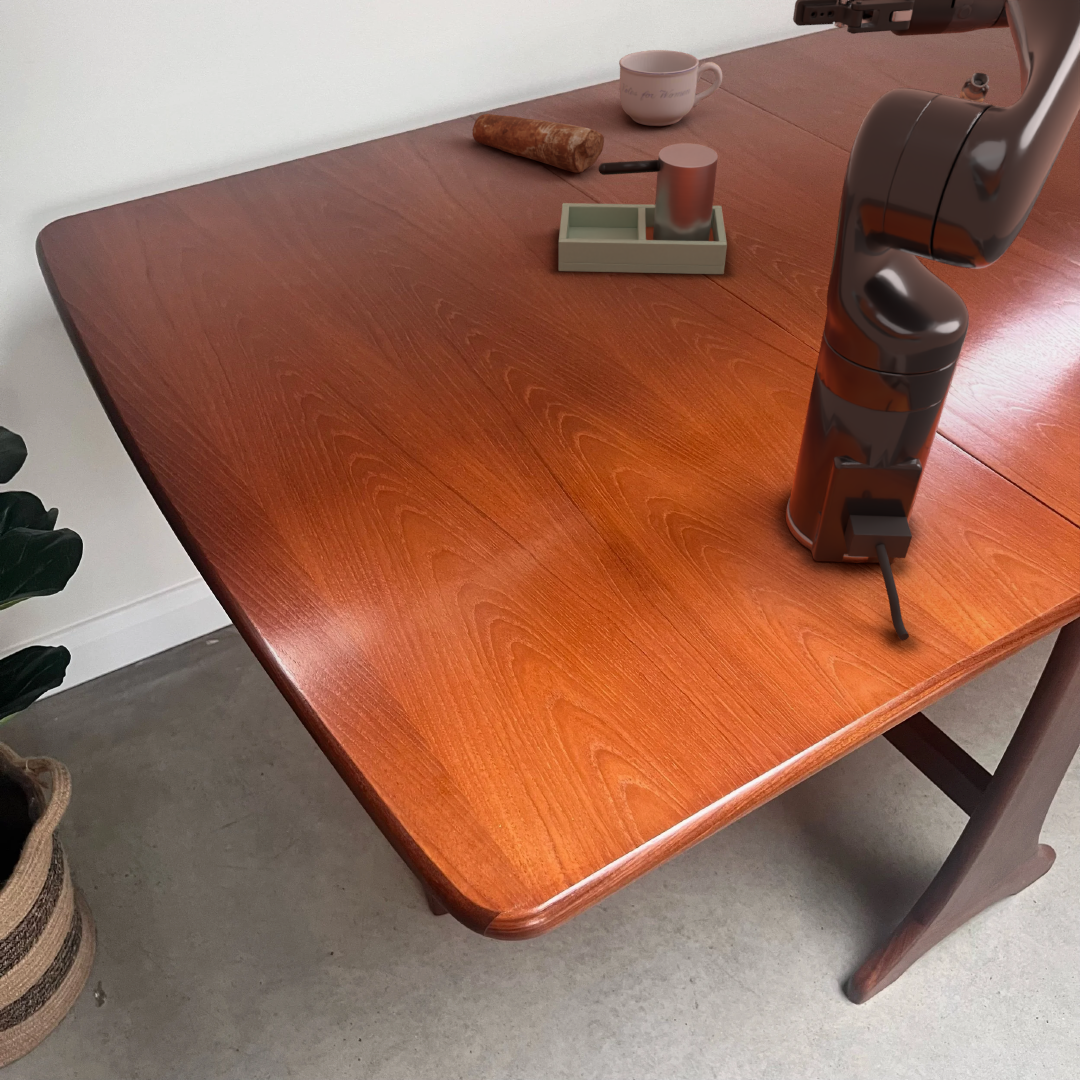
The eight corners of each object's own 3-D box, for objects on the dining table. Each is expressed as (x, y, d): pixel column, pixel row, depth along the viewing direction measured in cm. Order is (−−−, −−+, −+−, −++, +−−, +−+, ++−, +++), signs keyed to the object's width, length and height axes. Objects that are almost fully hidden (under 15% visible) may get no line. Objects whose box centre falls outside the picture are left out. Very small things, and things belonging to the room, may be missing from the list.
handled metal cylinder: (701, 228, 119) (710, 141, 112) (714, 254, 114) (724, 165, 107) (592, 235, 118) (594, 147, 111) (600, 261, 113) (603, 172, 106)
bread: (579, 183, 131) (580, 139, 127) (465, 147, 139) (462, 104, 136) (608, 166, 134) (610, 123, 130) (495, 132, 143) (493, 90, 139)
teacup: (608, 129, 143) (610, 68, 138) (627, 100, 151) (629, 42, 145) (709, 139, 140) (715, 78, 135) (722, 110, 148) (729, 51, 142)
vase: (985, 124, 143) (997, 79, 139) (944, 118, 145) (955, 74, 140) (991, 111, 146) (1003, 66, 142) (951, 105, 148) (962, 61, 144)
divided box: (723, 274, 113) (727, 244, 111) (558, 271, 114) (558, 241, 112) (718, 234, 120) (721, 205, 118) (562, 231, 121) (562, 202, 119)
